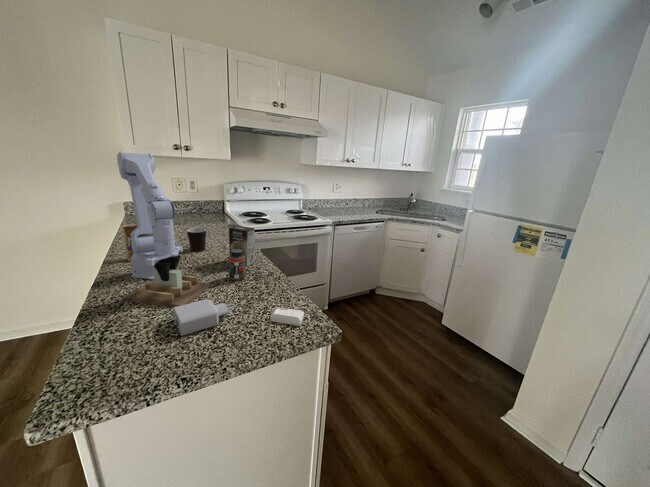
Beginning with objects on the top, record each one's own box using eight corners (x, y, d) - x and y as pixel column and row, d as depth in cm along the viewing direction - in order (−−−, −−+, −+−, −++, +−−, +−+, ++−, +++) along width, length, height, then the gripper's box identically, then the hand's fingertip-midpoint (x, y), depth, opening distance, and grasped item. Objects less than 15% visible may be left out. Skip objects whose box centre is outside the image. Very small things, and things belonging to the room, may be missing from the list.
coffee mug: (202, 253, 128) (201, 233, 125) (184, 251, 128) (183, 231, 125) (212, 246, 139) (212, 227, 137) (196, 244, 139) (195, 226, 137)
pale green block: (155, 290, 89) (153, 270, 87) (160, 286, 92) (158, 267, 90) (178, 293, 88) (176, 273, 86) (182, 289, 91) (181, 270, 89)
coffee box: (229, 263, 119) (227, 227, 114) (237, 258, 125) (236, 224, 120) (247, 266, 117) (246, 230, 112) (255, 261, 123) (254, 227, 118)
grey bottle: (238, 320, 79) (182, 337, 69) (227, 306, 85) (174, 320, 76) (238, 305, 77) (180, 321, 68) (226, 292, 84) (172, 305, 75)
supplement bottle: (240, 282, 102) (240, 254, 98) (226, 280, 103) (225, 251, 99) (248, 276, 107) (247, 249, 104) (234, 274, 108) (233, 247, 105)
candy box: (127, 262, 112) (122, 226, 108) (127, 258, 115) (122, 224, 111) (153, 259, 117) (148, 224, 113) (152, 255, 121) (148, 222, 116)
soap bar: (300, 326, 78) (300, 318, 77) (270, 322, 79) (270, 314, 78) (304, 317, 82) (304, 310, 82) (275, 313, 84) (275, 305, 83)
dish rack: (122, 300, 84) (120, 290, 83) (159, 279, 99) (158, 270, 98) (182, 308, 82) (181, 298, 81) (210, 286, 97) (210, 277, 96)
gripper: (159, 247, 78) (164, 289, 82) (189, 234, 91) (192, 271, 95) (137, 244, 78) (142, 286, 82) (170, 232, 92) (174, 269, 96)
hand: (168, 278), depth 89 cm, fingers closed on pale green block, 2 cm apart
